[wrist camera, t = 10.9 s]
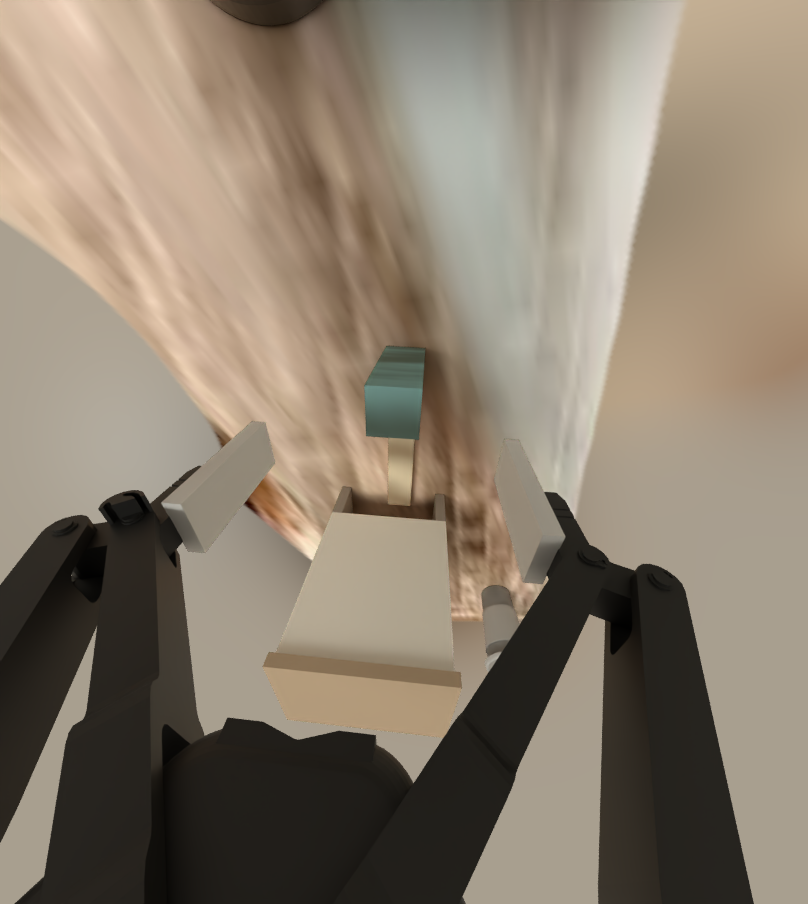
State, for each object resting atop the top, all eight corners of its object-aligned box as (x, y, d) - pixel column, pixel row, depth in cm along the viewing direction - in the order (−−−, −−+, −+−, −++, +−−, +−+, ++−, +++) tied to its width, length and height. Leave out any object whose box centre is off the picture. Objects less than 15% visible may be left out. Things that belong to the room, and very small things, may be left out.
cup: (515, 605, 52) (535, 686, 42) (476, 606, 53) (487, 686, 43) (515, 579, 49) (537, 662, 39) (473, 581, 50) (485, 662, 40)
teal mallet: (386, 345, 31) (364, 385, 20) (425, 348, 30) (422, 388, 20) (385, 495, 41) (370, 569, 31) (414, 497, 41) (408, 573, 31)
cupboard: (339, 484, 41) (262, 666, 22) (447, 492, 40) (461, 688, 22) (344, 538, 47) (287, 719, 28) (439, 546, 46) (445, 738, 27)
